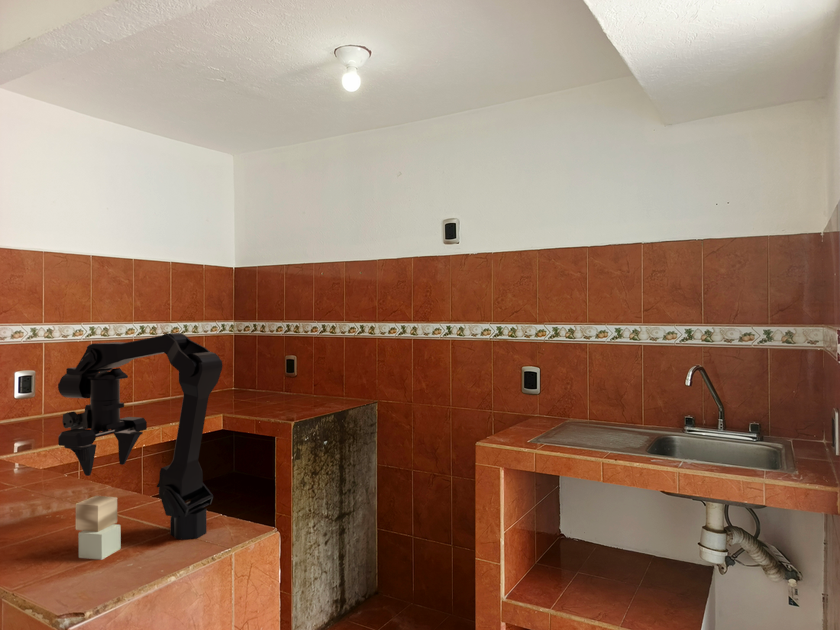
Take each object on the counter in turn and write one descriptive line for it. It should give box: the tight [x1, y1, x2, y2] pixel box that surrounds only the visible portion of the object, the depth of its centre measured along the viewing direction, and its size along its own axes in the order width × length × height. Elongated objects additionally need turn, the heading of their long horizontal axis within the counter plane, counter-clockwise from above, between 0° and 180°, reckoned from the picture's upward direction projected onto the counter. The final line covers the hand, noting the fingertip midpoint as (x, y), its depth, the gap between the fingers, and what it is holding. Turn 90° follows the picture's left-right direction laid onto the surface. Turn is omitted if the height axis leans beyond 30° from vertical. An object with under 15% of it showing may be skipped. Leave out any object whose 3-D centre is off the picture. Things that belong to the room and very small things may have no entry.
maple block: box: [75, 495, 118, 532], centre depth 110 cm, size 5×5×5 cm
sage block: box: [78, 523, 122, 561], centre depth 108 cm, size 5×5×5 cm
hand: (105, 469), depth 124 cm, fingers open, 9 cm apart
